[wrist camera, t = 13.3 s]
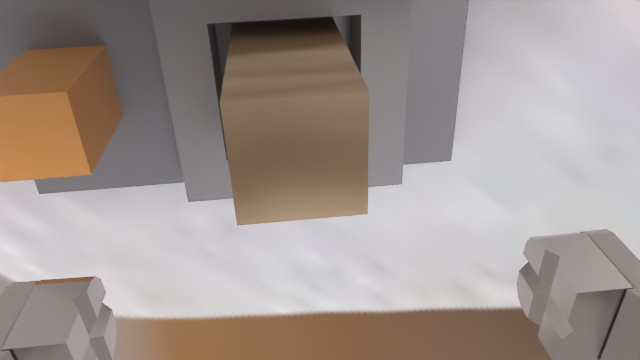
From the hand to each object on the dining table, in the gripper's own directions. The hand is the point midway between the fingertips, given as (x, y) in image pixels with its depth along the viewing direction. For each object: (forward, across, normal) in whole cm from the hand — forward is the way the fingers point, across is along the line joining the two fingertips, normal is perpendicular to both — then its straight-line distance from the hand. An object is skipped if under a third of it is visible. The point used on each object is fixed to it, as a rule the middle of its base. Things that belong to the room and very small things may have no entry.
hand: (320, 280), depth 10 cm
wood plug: (+13, 0, +1) cm, 13 cm away
